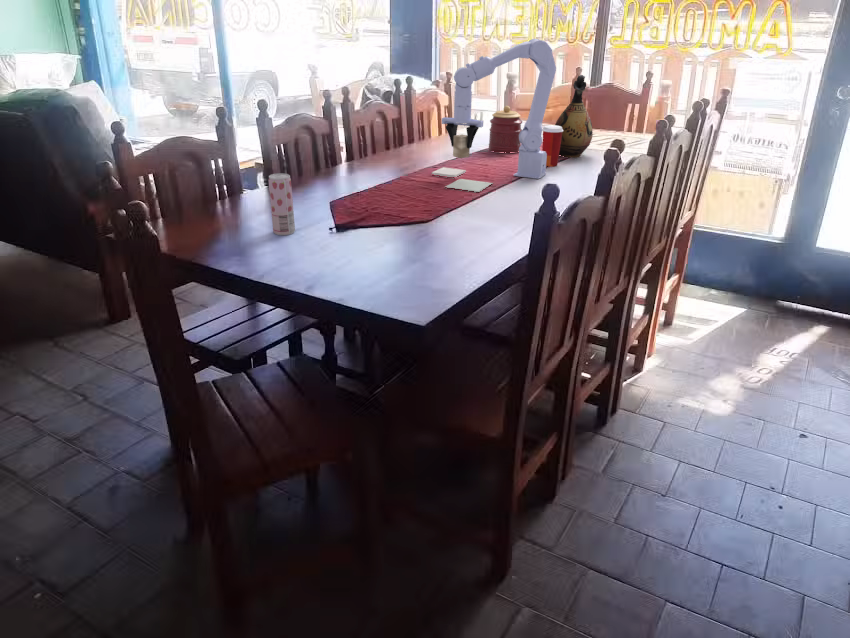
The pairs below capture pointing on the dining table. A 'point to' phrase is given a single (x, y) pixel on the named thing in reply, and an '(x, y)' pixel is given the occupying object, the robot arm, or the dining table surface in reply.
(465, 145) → the pusher block
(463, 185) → the mat
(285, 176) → the beverage can
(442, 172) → the tile
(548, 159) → the paper cup
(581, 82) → the ceramic jug
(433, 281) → the dining table surface
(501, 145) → the canister
